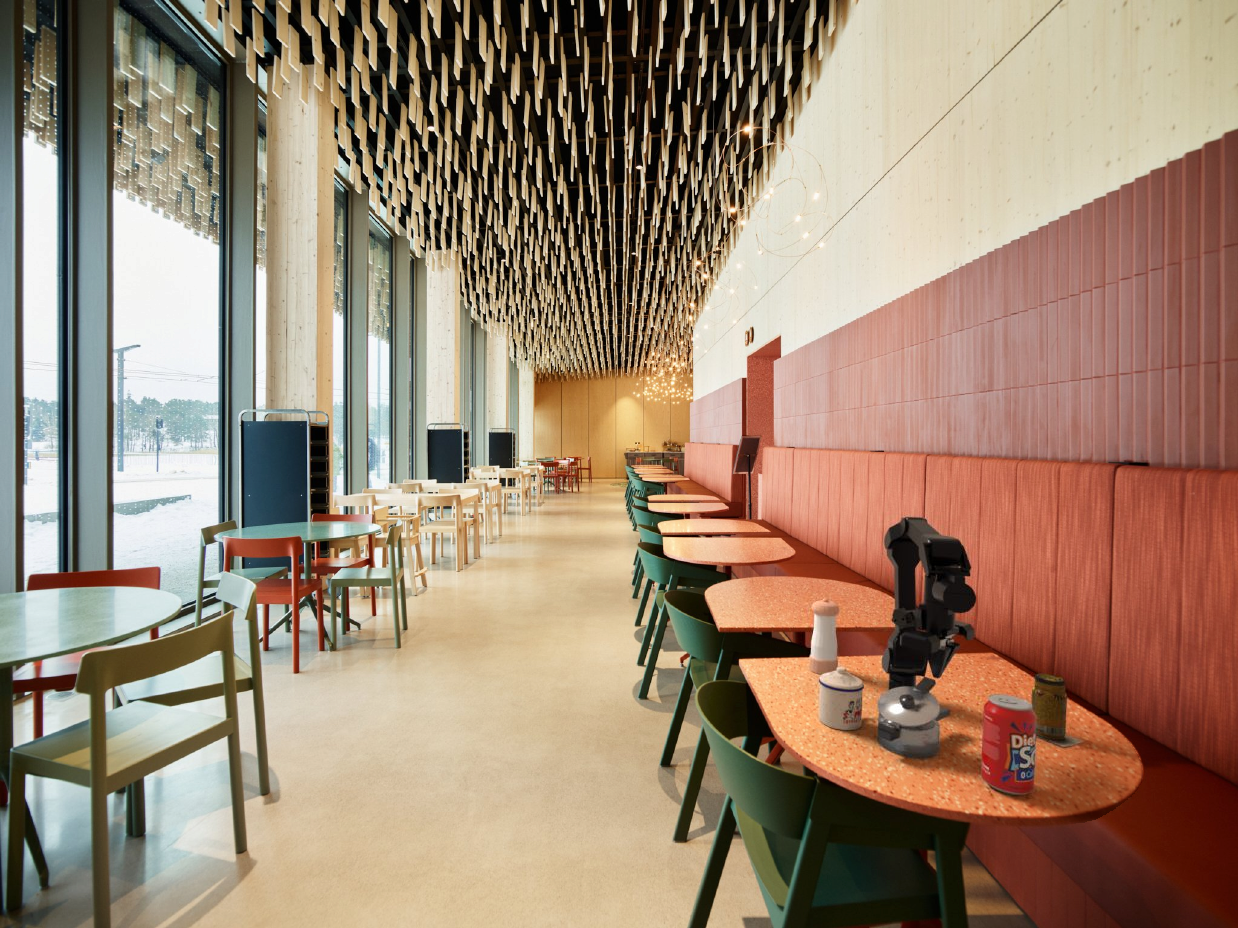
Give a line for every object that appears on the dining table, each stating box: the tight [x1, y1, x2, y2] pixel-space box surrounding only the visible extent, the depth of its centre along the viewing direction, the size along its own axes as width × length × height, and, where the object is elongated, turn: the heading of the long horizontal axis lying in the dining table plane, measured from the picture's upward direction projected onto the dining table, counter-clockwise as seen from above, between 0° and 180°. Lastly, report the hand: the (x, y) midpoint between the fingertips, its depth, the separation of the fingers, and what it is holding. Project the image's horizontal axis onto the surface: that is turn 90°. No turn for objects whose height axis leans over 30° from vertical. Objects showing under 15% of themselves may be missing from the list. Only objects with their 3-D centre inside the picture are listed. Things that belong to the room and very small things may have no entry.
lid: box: [876, 676, 941, 729], centre depth 123 cm, size 15×11×2 cm
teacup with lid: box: [818, 666, 865, 731], centre depth 134 cm, size 12×9×12 cm
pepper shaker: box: [808, 597, 840, 675], centre depth 165 cm, size 7×7×19 cm
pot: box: [877, 704, 951, 760], centre depth 124 cm, size 22×11×6 cm, turn 125°
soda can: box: [980, 693, 1037, 796], centre depth 108 cm, size 8×8×15 cm
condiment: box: [1030, 673, 1085, 748], centre depth 129 cm, size 7×8×12 cm
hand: (936, 677), depth 125 cm, fingers closed
